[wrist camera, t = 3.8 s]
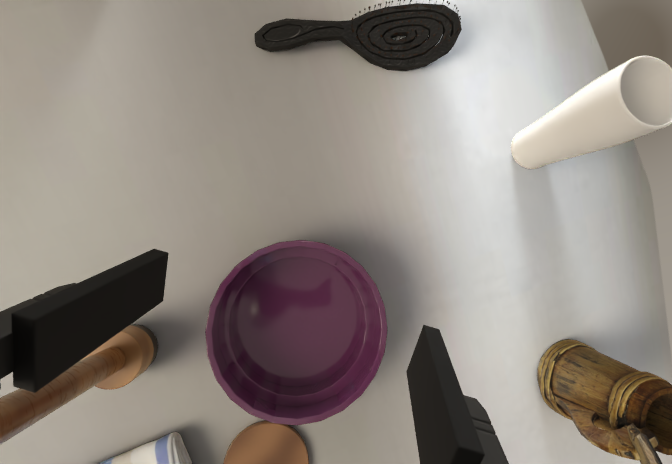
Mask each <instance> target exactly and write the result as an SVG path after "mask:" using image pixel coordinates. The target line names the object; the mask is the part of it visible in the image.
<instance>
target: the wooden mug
mask: <svg viewBox="0 0 672 464" xmlns="http://www.w3.org/2000/svg"><path fill="white" fill-rule="evenodd" d="M538 383H539V387H540V391H541V395H542V397H543V399H544V401H545V402H546V404H547V405H548V406H549V407H550V408H551V409H553V410H554V411H555V412H557V413H559V414H560V415H562V416H564V417H566V418H568V419H571V420H573V421H574V424H575V425H576V427H577V429H578V430H579V432H580V433H581V435H582V436H584V437H585V438H586V439H587V440H588V441H589V442H591V443H592V444H593V445H595V446H597V447H599V448H601V449H602V450H604V451H606V452H609V453H612V454H615V455H618V456H621V457H625V458H629V459H634V460H640V462H641V464H662V462H661V460H660V458H659V456H658V455H657V453H656V451H658V452H661V453H663V454H666V455H672V385H671V384H670V383H669V382H667V381H666V380H664V379H662V378H660V377H658V376H656V375H654V374H651V373H648V372H641V371H638V370H636V369H634V368H632V367H630V366H627V365H625V364H623V363H621V362H619V361H617V360H614V359H612V358H610V357H608V356H606V355H604V354H601V353H599V352H598V351H596V350H595V349H594V348H592V347H590V346H588V345H586V344H584V343H581V342H579V341H577V340H570V339H567V340H562V341H559V342H557V343H556V344H554V345H552V346H551V347H550V348H549V349H548V350H547V351H546V352H545V354H544V355H543V356H542V358H541V360H540V363H539V366H538ZM600 428H601V429H600ZM602 429H603V430H602Z"/></svg>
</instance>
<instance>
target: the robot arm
mask: <svg viewBox="0 0 672 464" xmlns="http://www.w3.org/2000/svg"><path fill="white" fill-rule="evenodd" d="M167 261H168V253H167V252H164V251H160V250H156V249H153V250H150V251H148V252H146V253H144V254H142V255H139V256H137V257H135V258H133V259H131V260H128V261H126V262H124V263H122V264H119V265H117V266H115V267H113V268H111V269H108V270H106V271H104V272H102V273H100V274H97V275H95V276H93V277H91V278H88V279H86V280H84V281H82V282H80V283H77V284H76V283H72V284H68V285H64V286H59V287H56V288H54V289H52V290H50V291H47V292H45V293H44V294H40V295H38V296H36V297H33V299H29V300H27V301H24V302H22V303H20V304H17V305H15V306H13V307H10V308H8V309H6V310H4V311H1V312H0V379H1V378H3V377H5V376H6V375H8V374H10V373H11V372H13V385H14V387H17V388H21V389H24V390H27V391H30V392H34V393H36V392H37V391H39V390H40V389H41V388H43V387H44V386H45V385H47V384H48V383H50V382H51V381H52V380H54V379H55V378H57V377H58V376H59V375H61V374H62V373H64V372H65V371H66V370H68V369H69V368H71V367H72V366H73V365H75V364H76V363H77V362H79V361H80V360H82V359H83V358H84V357H86V356H87V355H89V354H90V353H91V352H93V351H94V350H96V349H97V348H98V347H100V346H101V345H102V344H104V343H105V342H107V341H108V340H109V339H111V338H112V337H114V336H115V335H116V334H118V333H119V332H121V331H122V330H123V329H125V328H126V327H128V326H129V325H130V324H132V323H133V322H134V321H136V320H137V319H139V318H140V317H141V316H143V315H144V314H146V313H147V312H148V311H150V310H151V309H153V308H154V307H155V306H157V305H158V304H160V303H161V302H162V301H163V296H164V288H165V279H166V270H167ZM407 378H408V385H409V391H410V398H411V405H412V411H413V418H414V425H415V431H416V438H417V445H418V452H419V458H420V464H509V463H508V461H507V458H506V456H505V454H504V452H503V449H502V447H501V445H500V442H499V440H498V438H497V435H495V431H494V428H493V426H492V425H491V421H490V419H489V417H488V414H487V412H486V410H485V409H484V408H483V407H482V405H481V404H480V403H479V402H478V400H477V399H475V398H471V397H468V396H465V395H463V393H462V390H461V388H460V385H459V382H458V379H457V377H456V374H455V371H454V369H453V366H452V363H451V360H450V358H449V355H448V352H447V349H446V347H445V344H444V341H443V338H442V336H441V333H440V330H439V329H436V328H433V327H429V326H426V325H423V328H422V331H421V334H420V336H419V339H418V342H417V345H416V347H415V350H414V353H413V355H412V358H411V361H410V364H409V366H408V369H407ZM0 388H1V385H0Z"/></svg>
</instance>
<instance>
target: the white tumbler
mask: <svg viewBox="0 0 672 464" xmlns="http://www.w3.org/2000/svg"><path fill="white" fill-rule="evenodd" d="M670 124H672V68H671V67H670V66H669V65H668V64H666V63H665V62H664V61H662V60H660V59H658V58H655V57H651V56H638V57H635V58H632V59H630V60H629V61H627V62H625V63H623V64H621V65H619V66H617V67H616V68H614V69H612V70H610V71H608V72H607V73H605V74H603V75H602V76H600V77H598V78H597V79H595V80H594V81H592V82H590V83H589V84H587V85H586V86H585V87H583V88H582V89H580V90H579V91H577V92H576V93H574V94H573V95H572V96H570V97H569V98H568V99H566V100H565V101H563V102H562V103H561V104H559V105H558V106H556V107H555V108H554V109H552V110H551V111H550V112H548V113H547V114H545V115H544V116H543V117H541V118H540V119H538V120H537V121H535V122H534V123H533V124H531V125H530V126H528V127H526V128H525V129H523V130H521V131H520V132H518V133H517V134H516V135H515V137H514V138H513V140H512V143H511V153H512V156H513V158H514V160H515V161H516V162H517V163H518V164H519V165H520V166H522V167H524V168H527V169H536V168H540V167H542V166H545V165H548V164H551V163H555V162H558V161H562V160H565V159H569V158H573V157H576V156H580V155H584V154H587V153H591V152H595V151H599V150H602V149H606V148H609V147H613V146H616V145H620V144H623V143H626V142H629V141H632V140H634V139H637V138H640V137H642V136H645V135H647V134H650V133H652V132H655V131H657V130H660V129H662V128H664V127H667V126H669V125H670Z"/></svg>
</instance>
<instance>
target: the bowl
mask: <svg viewBox="0 0 672 464" xmlns="http://www.w3.org/2000/svg"><path fill="white" fill-rule="evenodd" d="M205 333H206V346H207V357H208V359H209V362H210V365H211V367H212V370H213V373H214V376H215V378H216V380H217V381H218V383H219V384H220V386H221V387H222V388H223V390H224V391H225V392H226V394H227V395H228V397H229V398H230V399H231V400H232V401H233V402H235V403H236V404H237V405H239V406H240V407H241V408H243V409H244V410H245V411H246V412H248V413H249V414H251V415H253V416H256V417H259V418H261V419H264V420H266V421H269V422H271V423H277V424H288V425H302V424H307V423H313V422H318V421H322V420H324V419H326V418H328V417H330V416H332V415H335V414H337V413H339V412H341V411H343V410H344V409H345V408H347V407H348V406H349V405H350V404H351V403H353V402H354V401H355V400H356V399H357V398H359V397H360V396H361V395H362V394H363V392H364V391H365V389H366V388H367V387H368V385H369V384H370V382H371V381H372V380H373V378H374V377H375V375H376V373H377V371H378V368H379V365H380V363H381V360H382V358H383V355H384V353H385V345H386V338H387V321H386V313H385V307H384V303H383V301H382V298H381V296H380V293H379V291H378V288H377V286H376V284H375V283H374V281H373V280H372V278H371V277H370V276H369V274H368V273H367V272H366V270H365V269H364V268H363V266H361V265H360V264H359V263H358V262H356V261H355V260H354V259H353V258H351V257H350V256H349V255H348V254H347V253H345V252H343V251H341V250H338V249H336V248H334V247H332V246H329V245H327V244H325V243H319V242H312V241H306V240H296V241H286V242H278V243H276V244H273V245H270V246H268V247H265V248H262V249H260V250H257V251H256V252H254V253H253V254H251V255H250V256H248V257H247V258H246V259H244V260H243V261H241V262H240V263H239V264H237V265H236V266H235V267H234V269H233V270H232V271H231V272H230V273H229V274H228V276H227V277H226V278H225V279H224V280H223V282H222V283H221V284H220V286H219V288H218V290H217V293H216V295H215V297H214V299H213V301H212V303H211V305H210V309H209V314H208V319H207V324H206V331H205Z"/></svg>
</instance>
